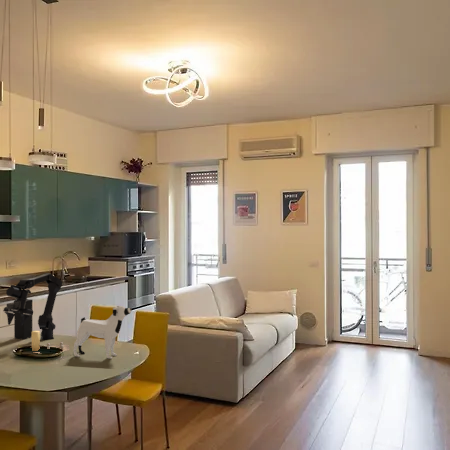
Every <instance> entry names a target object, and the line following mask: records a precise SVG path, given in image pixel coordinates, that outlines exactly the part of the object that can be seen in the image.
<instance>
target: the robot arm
mask: <svg viewBox="0 0 450 450" xmlns="http://www.w3.org/2000/svg"><path fill="white" fill-rule="evenodd" d="M44 282H45V283H46V284H47V289H48V295H47V299H46V302H45V306H44V309H43V313H42V314H41V315H39V316H38V320H37V325H38V327H39V330H41V331H40V340H43V341H48V340H53V339H55V337H54V330H56V324H55V323H54V318H53V315H52V313H53V310H54V306H55V302H56V297H57V294H58V292H59V291H60V290H61V288H62V286H63V281H62V280H61V279H60V278H58V277H56V276H55V275H54V274H52V273H49V272H48V273H43V274H41V275H40V274H39V275H38V276H33V277H31V278H20V280H19V282H18V283H16V285H15V284H10V286H9V287H8V288H7V289H6V293H5V294H6V296H7V297H11V298H15V299H14V300H13V302H8V303H6V306H5V307H4V308H3V312H4V313H5V315H6V317H7V325H11V324H12V321H13V320H14V315H15V314H14V313H15V312H20V314H21V313H23V314H21V320H20V326H22V325H23V323H24V322H25V321H26V320H27V319H28V318H29V317H30V316H31V315H32V316H33V314H34V310H33V309H32V310H30V309H24V308H25V304H27V302H26V300H27V299H28V296H29V294H32V291H31V289H32V288H33V287H34V286H35V285H38V284H40V283H44ZM20 310H21V311H20Z"/></svg>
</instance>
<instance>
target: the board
mask: <svg viewBox="0 0 450 450" xmlns="http://www.w3.org/2000/svg"><path fill="white" fill-rule="evenodd" d="M46 347H47V349H50V347H56V348H60V349H62V350H63V351H62V352H66V351H68V352H69V351H70V345H69V344H64V343H63V341H62V342H61V341H60V342H59V345H51V343H49V342H48V343H47V344H46ZM33 353H38V354H41V353H40V352H33Z"/></svg>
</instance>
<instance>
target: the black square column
mask: <svg viewBox="0 0 450 450" xmlns="http://www.w3.org/2000/svg"><path fill="white" fill-rule="evenodd" d="M26 302H27V304H25V308H24V309H30V310H33V299H29V298H27V300H26ZM20 311H21V310H20ZM13 314H15V315H14V317H13V320H14V323H13V324H14V329H13V330H14V331H13V332H14V335H13V337H14V339H15V340H26V339H29V338H32V331H33V315H31V316H30V317H29V318H28V319H27V320H26V321H25V322H24V323H23V325H22V326H20V320H21V314H23V313H21V314H20V312H15V313H13Z"/></svg>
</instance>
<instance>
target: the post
mask: <svg viewBox="0 0 450 450" xmlns="http://www.w3.org/2000/svg"><path fill="white" fill-rule="evenodd" d="M40 340H41V331H40V330H32V337H31V348H32V351H38V350H39V349H40V347H41V346H40V345H41V341H40Z"/></svg>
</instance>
